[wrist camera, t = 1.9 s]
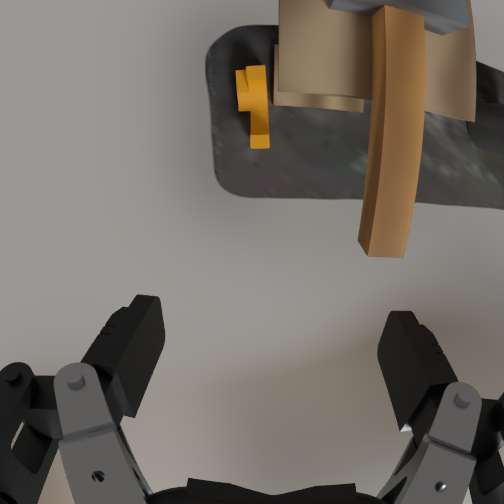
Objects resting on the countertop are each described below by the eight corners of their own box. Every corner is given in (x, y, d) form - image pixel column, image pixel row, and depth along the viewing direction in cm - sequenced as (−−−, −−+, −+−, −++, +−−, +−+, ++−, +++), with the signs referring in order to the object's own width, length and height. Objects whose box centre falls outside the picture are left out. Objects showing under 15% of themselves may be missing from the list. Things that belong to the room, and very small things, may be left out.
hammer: (438, -6, 12) (462, -19, 9) (423, 243, 20) (444, 266, 17) (327, -34, 12) (336, -57, 9) (318, 238, 20) (326, 262, 17)
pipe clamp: (237, 73, 43) (233, 67, 37) (265, 71, 42) (265, 65, 37) (242, 145, 48) (238, 149, 42) (269, 143, 47) (269, 147, 42)
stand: (361, 55, 40) (470, 0, 12) (360, 112, 44) (474, 122, 16) (274, 46, 40) (279, -46, 12) (273, 105, 44) (278, 89, 16)
